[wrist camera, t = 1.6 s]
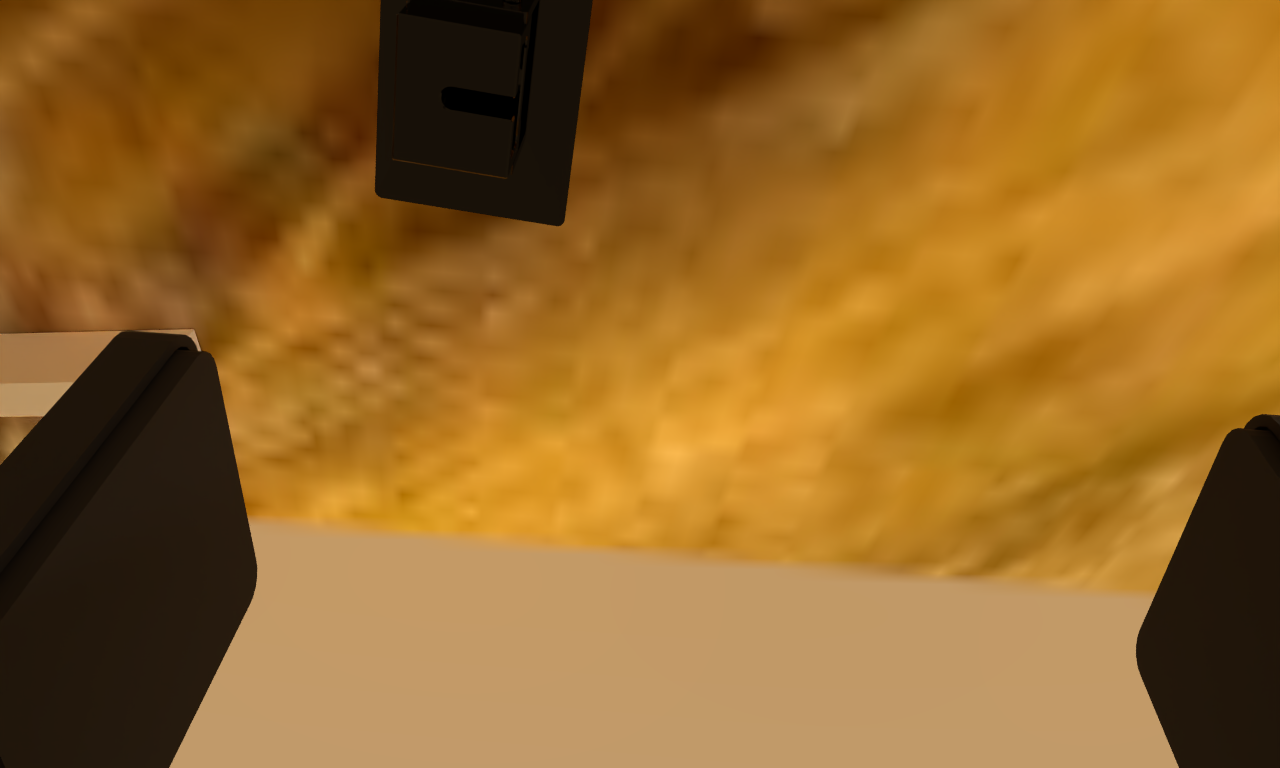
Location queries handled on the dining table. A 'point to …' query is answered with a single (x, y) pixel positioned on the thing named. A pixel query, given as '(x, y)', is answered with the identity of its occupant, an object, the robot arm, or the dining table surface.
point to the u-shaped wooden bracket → (49, 366)
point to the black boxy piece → (480, 104)
